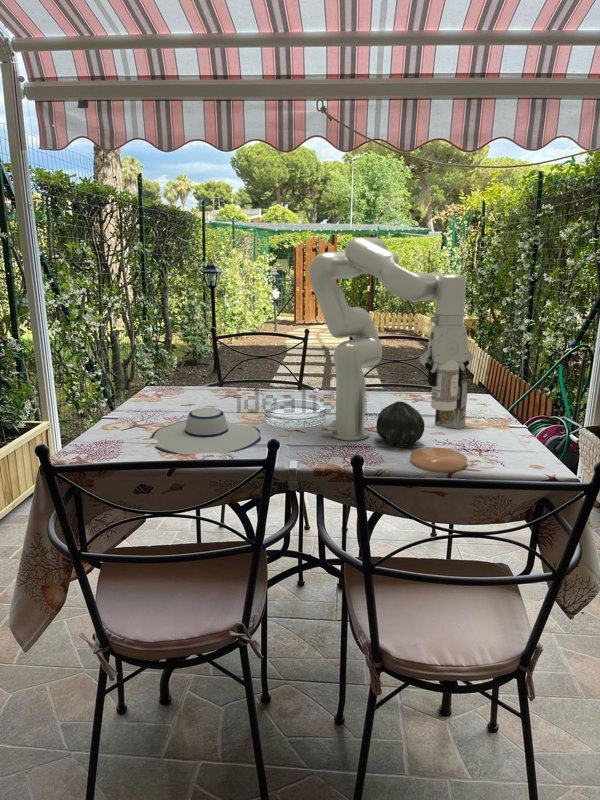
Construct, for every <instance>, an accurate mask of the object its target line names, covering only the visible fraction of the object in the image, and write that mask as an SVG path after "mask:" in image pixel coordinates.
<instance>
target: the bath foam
mask: <svg viewBox="0 0 600 800" xmlns="http://www.w3.org/2000/svg"><path fill="white" fill-rule="evenodd" d="M435 372H436V373H437V382H436V387H433V386H431V399H430V400H431V402H430V403H431V404H430V406H431V409H432V408H433V409H434V410H435V411H436V410H442V411H450V410H454V409H456V405H457V392H458V378H459V363H457V362H456V361H454V360H450V361H448V362H447V363H444V364H439V365H438V367H437V369H436V371H435Z"/></svg>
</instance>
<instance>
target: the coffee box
mask: <svg viewBox="0 0 600 800" xmlns="http://www.w3.org/2000/svg"><path fill="white" fill-rule="evenodd" d="M468 385H469V380H464V379H462V383H461V385H458V392H457V405H456V409H454V410H450V411H442V410H436V409H435V419H434V425H435V426H437V427H445V428H451V429H457V430H461V429H462V428H463V427H464V426H465V425H466V414H467V413H466V412H467V399H468V389H469V388H468Z"/></svg>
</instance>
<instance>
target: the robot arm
mask: <svg viewBox="0 0 600 800" xmlns="http://www.w3.org/2000/svg"><path fill="white" fill-rule="evenodd" d="M399 261H400V260H399V256H398V254H396V253H395V252H393V251H391V250H389V249H388V245H387V244H386V243H385V241H384V240H382V239H381V238H378V237H369V236H368V237H364V236H363V237H362V236H360V237H355V238H352V239H351V240H349V241H348V242H347V244H346V246H345V248H344V251H324V252H321V253H319V254H317V255H316V256H315V257H314V258H312V260H311V263H310V266H309V269H308V270H309V271H308V278H309V283H310V286H311V288H312V291H313V293H314V294H315V297H316V299H317V301H318V304H319V307H320V310H321V313H322V316H323V319H324V321H325V324H326V327H327V329H328V332H329V334H330V335H331V336H332V337H333V338H336V339H345V338H352V339H349V340H345V341H342V342H340V343H339V344H338V345H337V346H336V347H335V348H334V351H333V363H334V367H335V420H332V422H331V423H329V424H321V425H320V428H321V431H327V433H329V432H330V436H331V437H332V438H335V439H336V440H341V441H349V442H351V441H361V440H365V439H367V438H368V437H369V433H370V432H369V431H368V429H366V428H365V416H366V415H365V412H366V410H365V409H366V377H365V375H364V373H363V370H362V369H363V368H368V367H372V366H374V365H377V364H378V363H380V361H381V359H382V357H383V347H382V343H381V340H380V338H379V336H378V333H377V330H376V327H375V324H374V321H373V319H372V316H371V314H370V313H369V312H368V311H367V310H366V309H364V308H363V307H359V306H354V307H353V306H352V307H350V306H349V304H348V302H347V299H346V296H345V294H344V292H343V290H342V289H341V287H340V286H339V285H338V284H337V283H336V282H335V280H344V279H346V280H347V279H354V278H356V277H359V276H360V275H364V274H365V273H368V274H369V275H371V276H373V277H375V278H376V279H378V280H379V281H380V282H381V284H382V285H383V286H384V288H385V289H386V290H387V291H389V292H390V293H392V294H393V295H395V296H397V297H398V298H401V299H403V300H405V301H409V302H411V303H416V302H418V303H419V302H426V301H435V311H434V316H431V317H430V322H431V323H433V324H434V325H432V327H431V331H430V332H429V333H430V334H429V340H428V347H427V350H426V351H425V352H424V353H423V354H421V356H419V358H418V360H419V362H420V363H421V364H422V366H423V367H424V368H425V369H426V371H427V372H428V375H427V376H428V377H427V382H428V385H429V386H431V387H432V386H433V387H436V382H437V373H436V372H435V371H436V369H437V367H438V365H439V364H444V363H447V362H448V361H450V360H454V361H456V362H457V363H459V378H458V385H461V383H462V380H463V376H464V371H466V368H467V367H468V365H470V363H471V361H473V359H474V358H475V356H474V354H472V352H471V351H469V349H468V348H469V344H468V342H469V341H468V332H467V326H466V325H464V317H465V302H466V292H467V291H466V289H467V278H466V276H464V275H463V274H455V273H454V274H453V273H452V274H449V273H448V274H441V273H436V272H418V273H415V272H412V271H410V270H407V269H406V268H404V267H402V266H400V265H399ZM428 361H429V362H428Z"/></svg>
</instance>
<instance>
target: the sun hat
mask: <svg viewBox="0 0 600 800" xmlns="http://www.w3.org/2000/svg"><path fill="white" fill-rule="evenodd" d="M150 439H153V440H155V441H157V444H156V445H154V449H156V450H158V451H162V452H165V453H167V454H170V455H188V454H189V455H191V454H223V453H224V454H227V453H235V452H239V451H243V450H246V449H249V448H251V447H253V446H255V445H256V444H258V443H259V442H260V441H261V440H262V437H261V430H260V429H259V428H258V427H256V426H253V425H243V424H237V423H236V424H235V423H231V422H229V421H227V418H226V416H225V413H224V411H222V410H221V409H218V408H212V407H202V408H196V409H193V410H191V411H190V412H189V413H188V415H187V419H185V420H180V421H177V422H174V423H170V424H168V425H166V426H162V427H160V428H158V429H157V430H154V432H152V434H151V436H150Z"/></svg>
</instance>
